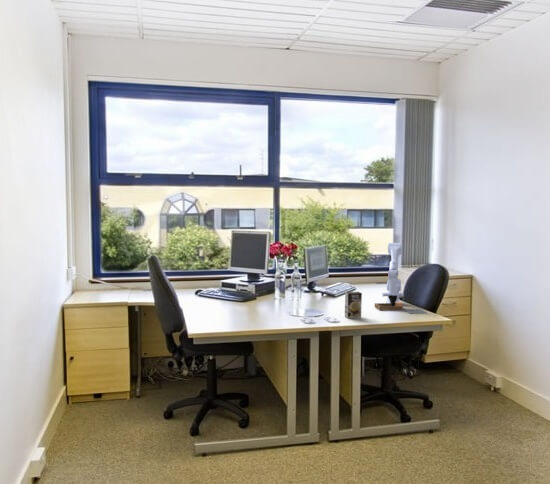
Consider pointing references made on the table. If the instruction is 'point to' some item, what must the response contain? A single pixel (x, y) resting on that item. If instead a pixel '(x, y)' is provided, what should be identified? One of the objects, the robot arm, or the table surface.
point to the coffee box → (353, 304)
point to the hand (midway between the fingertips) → (392, 306)
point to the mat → (414, 311)
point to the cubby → (387, 306)
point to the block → (398, 304)
